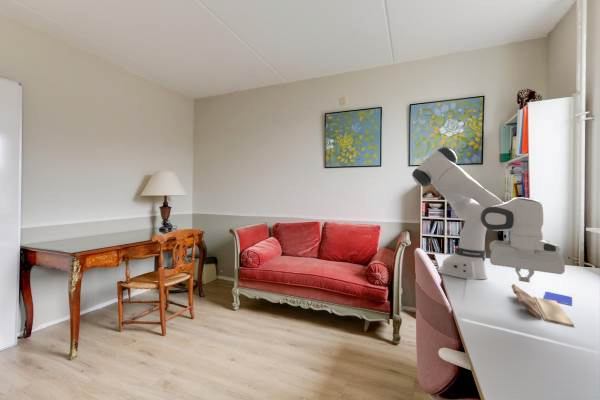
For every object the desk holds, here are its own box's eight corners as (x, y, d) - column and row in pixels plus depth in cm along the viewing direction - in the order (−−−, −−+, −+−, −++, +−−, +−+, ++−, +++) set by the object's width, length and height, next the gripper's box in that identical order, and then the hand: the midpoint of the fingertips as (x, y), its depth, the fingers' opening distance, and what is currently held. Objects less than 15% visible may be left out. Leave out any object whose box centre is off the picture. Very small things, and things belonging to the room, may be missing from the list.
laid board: (544, 322, 88) (544, 318, 88) (532, 299, 107) (532, 296, 107) (573, 328, 84) (574, 324, 84) (556, 304, 103) (556, 300, 103)
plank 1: (513, 292, 102) (516, 290, 102) (511, 286, 110) (513, 283, 110) (532, 307, 99) (535, 304, 98) (528, 298, 107) (531, 296, 106)
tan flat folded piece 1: (518, 302, 92) (522, 299, 91) (515, 293, 100) (518, 291, 99) (538, 319, 89) (542, 317, 89) (533, 309, 97) (537, 307, 96)
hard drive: (572, 305, 100) (572, 296, 108) (542, 298, 106) (545, 291, 114) (572, 309, 100) (572, 300, 109) (542, 302, 106) (545, 294, 114)
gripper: (489, 240, 98) (488, 277, 98) (567, 248, 86) (565, 290, 86) (489, 238, 103) (488, 273, 103) (562, 245, 91) (560, 285, 91)
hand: (523, 281), depth 95 cm, fingers closed
